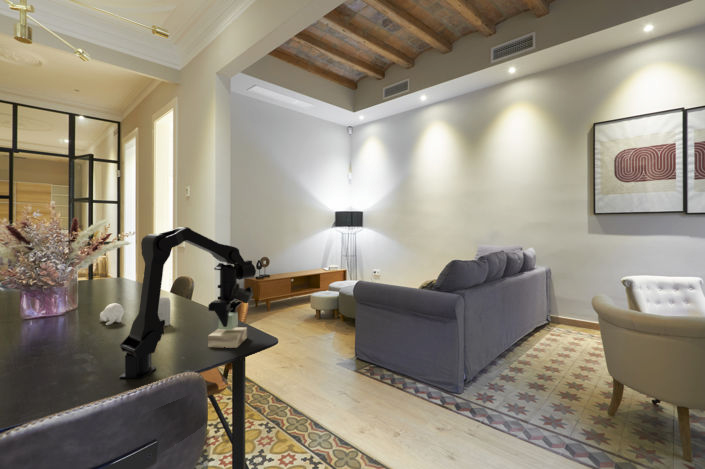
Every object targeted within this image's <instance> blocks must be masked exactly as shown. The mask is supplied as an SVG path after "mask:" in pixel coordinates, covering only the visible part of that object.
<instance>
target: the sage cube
mask: <svg viewBox="0 0 705 469" xmlns="http://www.w3.org/2000/svg"><path fill="white" fill-rule="evenodd" d="M238 313H239V312H238V311H236V312H229V316H228V323H227V327H223V325H222V323H221V321H220V319H219V317H218V316H217V317H218V319H217V320H218V323H217V324H218V326H217V329H221V330H233V329H234V328H235V327H239V326H238V325H239V323H238V322H239V320H238V319H239V318H238V317H239V314H238Z"/></svg>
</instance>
